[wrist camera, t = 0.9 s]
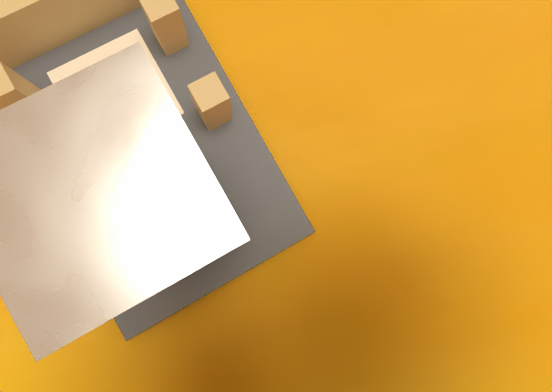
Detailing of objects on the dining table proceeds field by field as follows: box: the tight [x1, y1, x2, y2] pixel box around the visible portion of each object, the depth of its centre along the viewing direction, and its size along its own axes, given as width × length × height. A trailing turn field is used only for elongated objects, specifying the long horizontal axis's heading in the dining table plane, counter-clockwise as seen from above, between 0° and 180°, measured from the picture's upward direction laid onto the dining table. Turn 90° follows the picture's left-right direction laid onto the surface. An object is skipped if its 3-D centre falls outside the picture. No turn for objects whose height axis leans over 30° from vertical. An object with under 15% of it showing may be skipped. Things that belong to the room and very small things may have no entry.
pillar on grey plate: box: [0, 42, 250, 362], centre depth 16 cm, size 5×5×14 cm
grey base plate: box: [0, 0, 315, 341], centre depth 21 cm, size 17×12×4 cm
